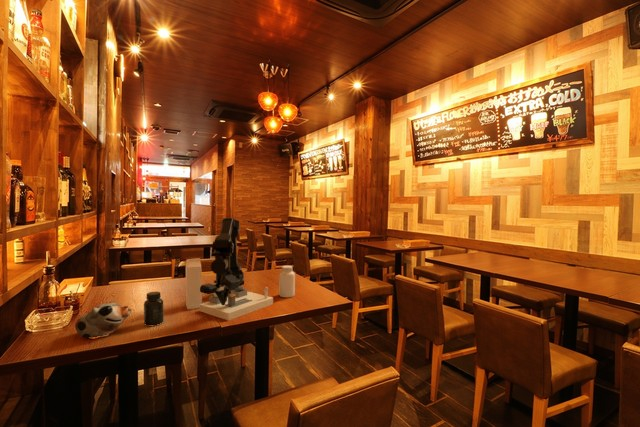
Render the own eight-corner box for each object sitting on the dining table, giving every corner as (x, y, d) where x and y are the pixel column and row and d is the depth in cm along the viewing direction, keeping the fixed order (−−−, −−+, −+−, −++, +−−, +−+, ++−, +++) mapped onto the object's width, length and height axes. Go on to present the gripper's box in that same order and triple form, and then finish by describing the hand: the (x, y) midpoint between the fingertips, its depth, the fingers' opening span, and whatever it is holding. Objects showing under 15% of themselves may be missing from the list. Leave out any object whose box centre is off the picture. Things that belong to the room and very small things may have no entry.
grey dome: (233, 291, 155) (233, 287, 155) (239, 289, 158) (239, 285, 158) (238, 292, 153) (238, 288, 153) (244, 290, 156) (244, 286, 156)
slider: (227, 305, 141) (227, 294, 140) (231, 303, 142) (231, 293, 142) (231, 306, 139) (231, 295, 139) (235, 304, 141) (235, 294, 141)
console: (200, 311, 142) (199, 292, 142) (245, 296, 164) (245, 280, 163) (228, 320, 131) (228, 300, 131) (273, 303, 153) (273, 286, 152)
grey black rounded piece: (114, 322, 128) (130, 292, 127) (122, 343, 121) (139, 311, 120) (69, 322, 117) (86, 289, 116) (76, 345, 109) (94, 310, 108)
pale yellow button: (212, 297, 145) (212, 293, 145) (219, 295, 148) (219, 291, 148) (217, 298, 143) (217, 294, 143) (224, 296, 146) (224, 292, 146)
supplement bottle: (141, 323, 128) (141, 293, 128) (160, 318, 133) (159, 289, 133) (147, 328, 123) (146, 296, 123) (166, 323, 128) (165, 293, 128)
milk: (201, 307, 147) (201, 259, 146) (187, 309, 144) (187, 260, 143) (199, 303, 152) (199, 257, 151) (185, 305, 149) (185, 258, 148)
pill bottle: (292, 298, 161) (292, 268, 161) (276, 297, 163) (277, 267, 162) (296, 293, 169) (296, 265, 169) (281, 292, 171) (282, 264, 170)
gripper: (216, 275, 124) (216, 315, 125) (252, 267, 139) (253, 302, 140) (198, 271, 131) (199, 309, 131) (235, 263, 146) (235, 298, 147)
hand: (223, 305), depth 137 cm, fingers closed
